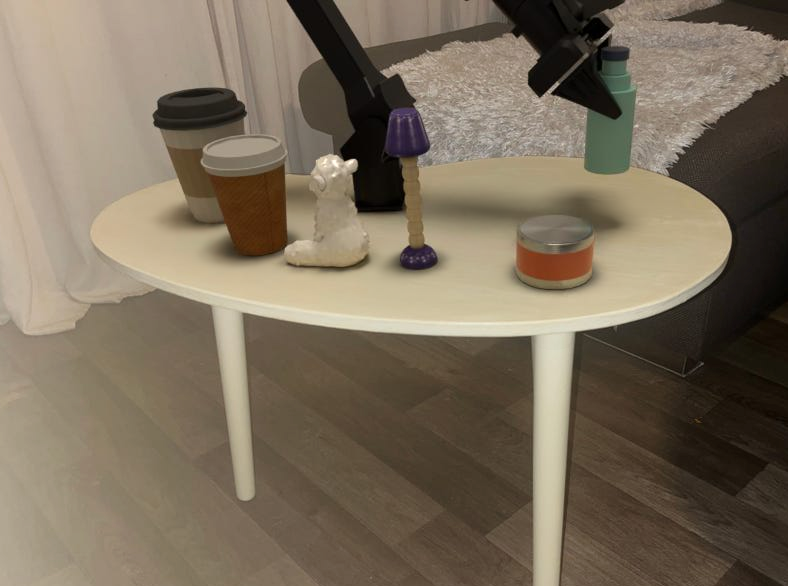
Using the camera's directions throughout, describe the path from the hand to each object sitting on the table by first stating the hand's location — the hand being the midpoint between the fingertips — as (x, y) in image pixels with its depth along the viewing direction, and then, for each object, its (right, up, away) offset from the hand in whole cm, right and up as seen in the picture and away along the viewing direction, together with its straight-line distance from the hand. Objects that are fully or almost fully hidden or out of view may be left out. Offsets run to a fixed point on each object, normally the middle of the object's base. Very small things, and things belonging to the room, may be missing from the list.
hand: (623, 110), depth 84 cm
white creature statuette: (-32, -16, +3) cm, 36 cm away
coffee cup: (-49, -8, +16) cm, 53 cm away
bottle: (-1, -5, +4) cm, 7 cm away
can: (-8, -18, -3) cm, 20 cm away
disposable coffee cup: (-42, -14, +7) cm, 45 cm away
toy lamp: (-23, -17, +1) cm, 29 cm away
